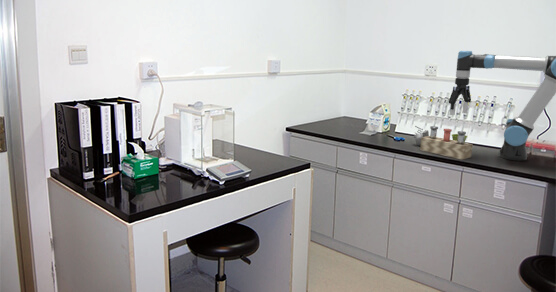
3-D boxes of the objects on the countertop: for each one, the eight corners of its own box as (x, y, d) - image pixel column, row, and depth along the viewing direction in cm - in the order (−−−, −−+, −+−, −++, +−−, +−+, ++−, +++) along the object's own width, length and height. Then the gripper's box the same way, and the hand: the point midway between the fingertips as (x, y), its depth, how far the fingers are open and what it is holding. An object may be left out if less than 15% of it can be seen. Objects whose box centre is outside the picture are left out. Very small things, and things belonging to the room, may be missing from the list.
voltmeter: (435, 148, 288) (436, 133, 286) (418, 148, 287) (419, 133, 285) (417, 139, 314) (419, 125, 312) (402, 139, 313) (403, 125, 310)
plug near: (465, 147, 267) (467, 132, 265) (461, 148, 264) (463, 133, 262) (458, 146, 270) (460, 130, 268) (454, 147, 267) (456, 131, 265)
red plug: (451, 145, 274) (453, 129, 271) (447, 145, 271) (449, 130, 268) (444, 143, 277) (446, 128, 275) (440, 144, 274) (442, 129, 272)
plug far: (437, 142, 280) (439, 127, 278) (433, 143, 277) (435, 127, 275) (431, 140, 284) (432, 125, 281) (427, 141, 281) (428, 126, 279)
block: (471, 157, 268) (472, 144, 266) (462, 159, 262) (464, 146, 260) (429, 147, 289) (430, 135, 287) (420, 150, 282) (421, 137, 280)
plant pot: (467, 151, 283) (468, 137, 281) (451, 149, 285) (452, 136, 283) (464, 147, 292) (465, 134, 290) (448, 146, 294) (450, 133, 292)
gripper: (467, 76, 273) (464, 111, 278) (444, 78, 258) (440, 114, 263) (479, 77, 267) (475, 113, 272) (456, 79, 252) (452, 116, 257)
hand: (458, 114), depth 267 cm, fingers open, 13 cm apart
